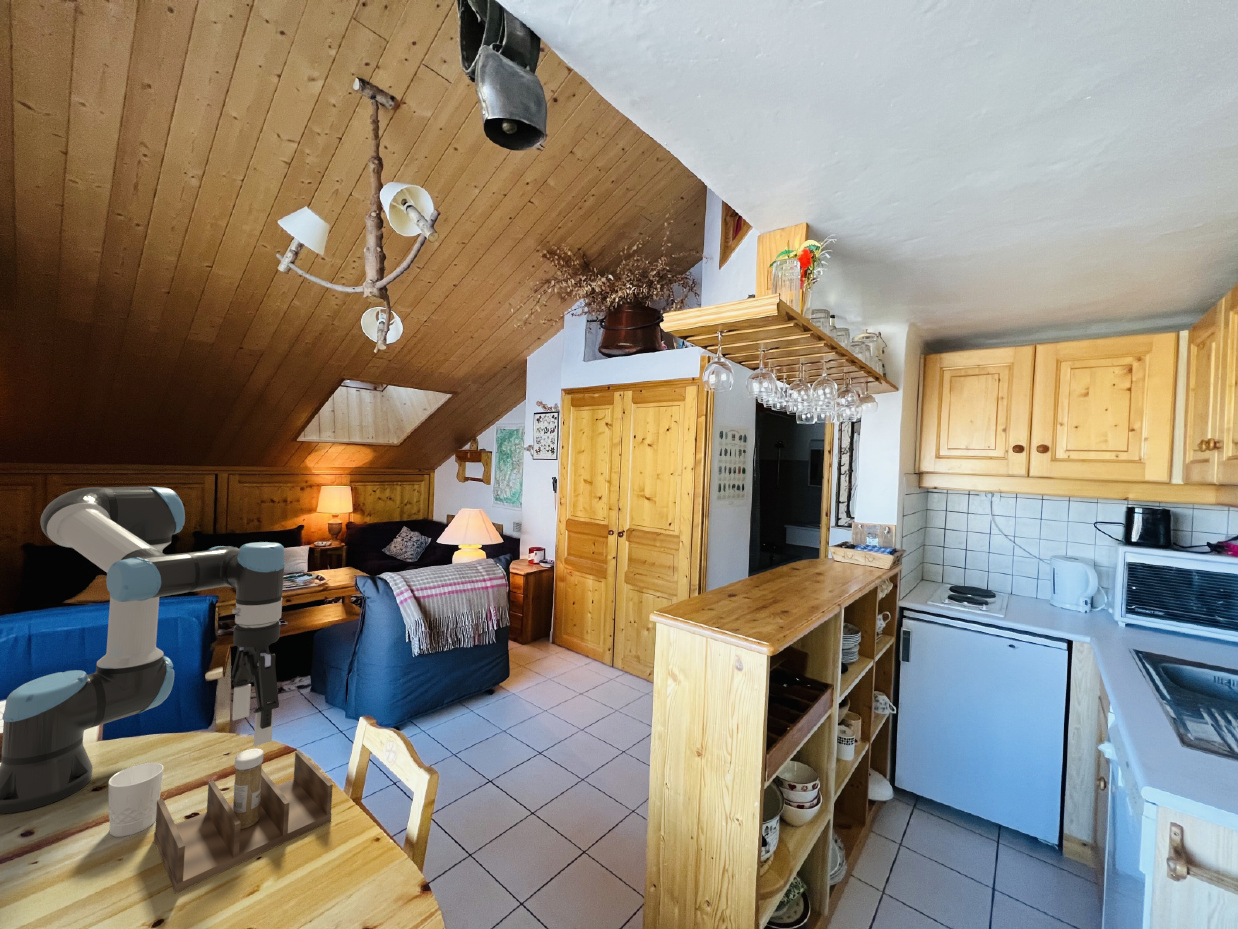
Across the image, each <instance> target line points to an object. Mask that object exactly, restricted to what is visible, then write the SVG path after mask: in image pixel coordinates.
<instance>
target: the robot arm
mask: <svg viewBox="0 0 1238 929" xmlns="http://www.w3.org/2000/svg"><path fill="white" fill-rule="evenodd" d="M185 514H186V513H185V507H184V504H183V501H182V500H181V499H180V496H179V495H178V493H177V492H176V491H175V490H172V489H171V488H168V487H159V486H149V485H148V486H119V487H118V486H117V487H116V486H115V487H113V486H112V487H111V486H110V487H109V486H107V487H100V486H99V487H98V486H97V487H96V486H95V487H93V486H91V487H84V488H77V489H74V490H71V491H68V492H65V493H64V494H61V495H59V496H57V497H56V498H55V499H53V500H52V501H51V502H49V504H47V506H46V507H45V508H44V509H43V512H42V513H41V516H40V526H41V531H42V532H43V533H44V535H45V536H46V537H47V538H48V539H49V540H50V541H52V542H53V543H55V544H56V545H59V546H61V547H65V548H71V549H74V551H76V552H78V553H79V554H80V555H82V556H83V557H84V558H86V559H87V560H89V561H90V562H91V563H92V564H94V565H96V566H97V567H98V568H99V569H101V570H103V571H104V572H106V579H105V580H106V588H107V591H108V592H109V612H108V626H107V640H106V641H107V642H106V653H105V655H103V656H102V657H101V658H100V659H98V660H97V661H96V668H95V672H92V673H90V674H87V672H86V671H84V670H78V669H77V670H76V669H74V670H66V671H64V672H61V671H59V672H55V673H51V674H47V675H44V676H40V677H38V678H36V679H33V680H30V681H28V682H26V683H23V684H22V685H20V686H18V687H17V688H16V689H14V690H12V691H11V692H10V693H9V695H7V697H6V699H5V706H4V711H3V714H2V720H3V727H2V743H1V758H0V759H1V761H0V814H13V813H14V814H15V813H20V812H26V811H30V810H33V809H37V808H42V807H44V806H47V805H50V804H52V803H56V802H58V801H61V800H62V799H65V798H68V797H69V796H71V795H73V794H75V793H76V792H78V791H80V790H81V789H83V788H84V787H85V786H86V785H88V783H90V781H92V778H93V764H92V762H91V759H90V757H89V754H88V753H87V750H86V748H85V746H84V732H85V731H86V730H89V729H93V728H94V727H97V726H102V725H105V724H107V723H110V722H114V721H117V720H120V719H123V718H127V717H130V716H134V715H137V714H141V713H143V712H145V711H147V710H150V709H153V708H156V707H158V706H160V705H161V704H163V702H165V700H167V698H168V697H169V696H170V693H171V691H172V690H173V686H174V682H175V681H174V680H175V670H174V669H173V667H174V664H173V662H172V660H171V659H170V658H169V657H168V656H166V655H165V654H164V651H163V650H162V649H160V648H159V647H157V636H158V622H159V609H160V608H159V607H160V606H159V605H160V597H166V596H167V597H168V596H171V595H179V594H184V593H189V592H198V591H202V590H209V589H215V588H221V587H229V588H234V589H235V591H236V593H235V608H232V610H231V613H232V614H233V615H234V616H235V617H234V623H235V624H236V625H234V627H233V639H232V640H233V641H232V643H233V645H234V646H236V647H237V650H236V655H235V660H234V663H233V667H232V671H231V674H230V680H231V681H233V682H232V685H233V686H234V688H233V697H232V699H233V700H232V702H233V703H232V716H231V717H232V718H231V720H232V721H236V720H240V719H244V718H247V717H250V706H251V690H252V684H251V683H253V685H254V686H253V687H254V692H255V697H256V699H255V700H256V704H257V707H256V708H255V709H254V710H253V713H254V714H255V715H254V716H255V719H254V730H253V732H254V733H253V746H254V747H258V746H261V745H263V744H266V743H267V744H268V743H270V742H272V741H273V728H274V727H273V723H274V710H275V709H277V708H279V707H280V701H279V692H278V691H279V690H278V682H277V672H276V671H277V670H276V653H271V650H270V649H269V646H271V644H274V643H276V642H277V641H279V639H280V637H281V635H280V634H281V621H280V619H281V618H282V609H283V590H284V589H283V587H284V577H285V566H286V561H285V547H284V545H282V544H281V543H279V542H268V541H265V542H264V541H259V542H249V543H245V544H243V545H241V546H240V547H239V548H238V547H237V546H235V547H234V546H232V545H231V546H230V545H228V546H224V545H222V546H221V545H220V546H219V545H218V546H214V547H213V546H212V547H211V548H208V549H207V550H202V551H193V552H191V551H190V552H183V553H170V554H165V553H163V550H164V549H165V548H166V547H168V546H169V545H170V544H171V543H172V536H173V535H176V534H177V533H178V534H179V533H180V532H181V531H182V530H183V527H184V526H185V521H186V515H185Z"/></svg>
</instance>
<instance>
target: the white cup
mask: <svg viewBox="0 0 1238 929" xmlns="http://www.w3.org/2000/svg"><path fill="white" fill-rule="evenodd" d="M163 776H164V765H163V764H161V763H159V762H145V763H140V764H135V765H133V766H130V767H127V768H124V769H122V770H119V771H117V773H115V774H114V775H112V776H111V777H110V778H109V780H108V801H107V802H108V806H107V807H108V820H109V834H110V835H111V836H112V837H127V836H128V837H129V836H131V835H135V834H137V833H140V832H142V831H145V830H146V829H148V828H149V827H151V826H152V825H153V824H154V823H156V810H157V800H159V799H161V792H162V783H163Z"/></svg>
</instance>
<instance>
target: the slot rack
mask: <svg viewBox="0 0 1238 929" xmlns="http://www.w3.org/2000/svg"><path fill="white" fill-rule="evenodd" d="M293 768H294V769H293V778H292V779H289V780H287V781H284V782H282V783H278V784H277V785H276V784H275V783H274V781H273V780H272V779H271V778H270V776H269V775H268V774H267V773H266V771H265V770H264V769H263V768H261V798H260V818H259V820H258V821H257V822H256V823H255V824H254V825H252V826H250V827H248V828H244V829H240V826H241V822H240V821H239V819H238V818H237V816H236V814H235V813H234V810H233V803H234V801H232V802H228V800H227V799H226V798H225V796H224V794H223V793H222V791H221V790H220V788H219V787H218V785H217V784H216V782H215V781H214V780H211V781H208V783H207V784H208V786H207V800H206V801H207V802H206V803H207V804H206V811H205V812H203V813H201V814H198V815H196V816H194V817H191V818H188V819H185V820H183V821H180V822H177V823H175V822H174V820H173V817H172V815H171V813H170V811H169V808H168V807H167V804H166V803H165V801H164V799H163V798H160V799H159V800H157V810H156V821H155V830H154V834H153V835H154V836H153V841H154V844H155V847H156V849H157V851H158V854H159V856H160V859H161V862H162V864H163V866H164V869H165V872H166V873H167V876H168V879H169V881H170V884H171V886H172V888H173V892H174V894H175V895H177V894H178V893H180V892H182V891H185V890H186V889H188V888H190V887H193V886H195V885H197V884H199V883H202V882H203V881H206V880H208V879H210V878H212V877H214V876H216V875H219V874H221V873H223V872H225V871H227V870H229V869H232V868H233V867H236V866H238V865H240V864H242V863H244V862H247V861H249V860H251V859H253V858H255V857H257V856H259V855H261V854H263V853H266V852H268V851H270V850H273V849H274V848H277V847H278V846H281V845H282V844H285V843H288V842H289V841H292V840H293V839H296V838H297V837H300V836H302V835H305V834H306V833H309V832H310V831H313V830H316V829H317V828H320V827H323V825H325V824H328V823H330V822H332V803H333V800H332V799H333V787H334V784H333V783H332V782H331V781H330V779H328V778H327V777H326V776H325V774H324V773H323V772H321V771H320V770H319V768H317V767H316V765H314V764H313V763H312V762H311V761H310V760H309V759H308V757H307V756H306V755H304V754H303V753H302V751H300V750H297V751H295V752H294V767H293Z"/></svg>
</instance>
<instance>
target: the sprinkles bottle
mask: <svg viewBox="0 0 1238 929" xmlns="http://www.w3.org/2000/svg"><path fill="white" fill-rule="evenodd" d="M234 759H235V760H234V769H235V773H234V774H235V776H234V787H233V802H234V803H233V810H234V813H235V814H236V816H237V818H238V819H239V821H240V822H241V826H240V829H244V828H248V827H250V826H252V825H254V824H255V823H256V822H257V821H258V820H259V818H260V798H261V768H262V766H263V765H262V764H263V762H264V750H263V749H261V748H250V749H246V750H244V751H241V752H239V753H238V754H237V755H236V757H235V758H234ZM262 769H263V768H262Z"/></svg>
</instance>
